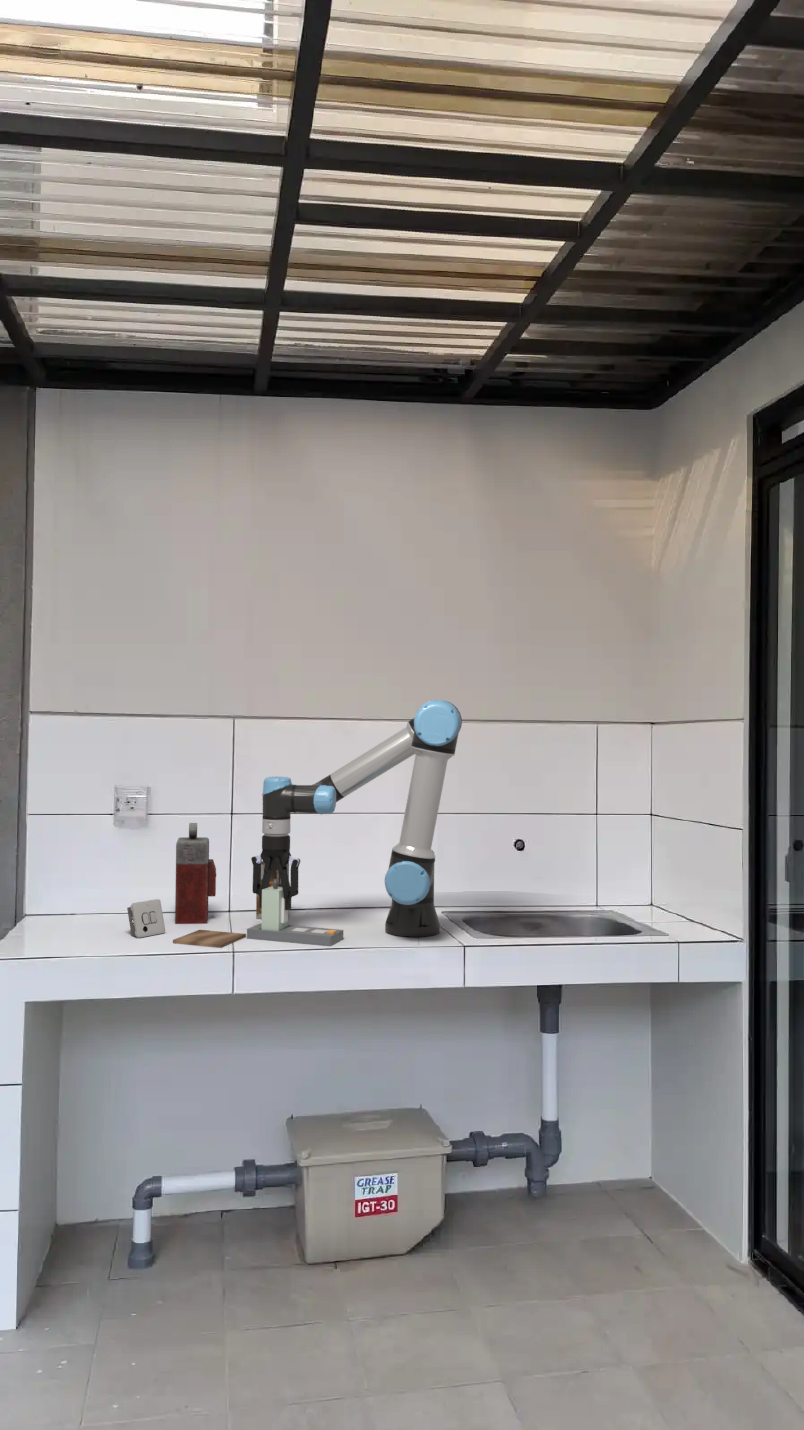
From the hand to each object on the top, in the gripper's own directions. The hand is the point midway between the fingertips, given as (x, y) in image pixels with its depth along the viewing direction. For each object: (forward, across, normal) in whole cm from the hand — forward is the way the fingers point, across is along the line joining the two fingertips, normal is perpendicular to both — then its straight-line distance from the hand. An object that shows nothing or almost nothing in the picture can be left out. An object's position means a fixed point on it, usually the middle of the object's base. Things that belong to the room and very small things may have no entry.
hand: (274, 921), depth 293 cm
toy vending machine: (+4, -30, +11) cm, 32 cm away
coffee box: (+4, -12, +24) cm, 27 cm away
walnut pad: (+4, -14, -10) cm, 18 cm away
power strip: (+4, +6, 0) cm, 7 cm away
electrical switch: (+5, -33, -11) cm, 35 cm away
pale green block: (+4, 0, 0) cm, 4 cm away
